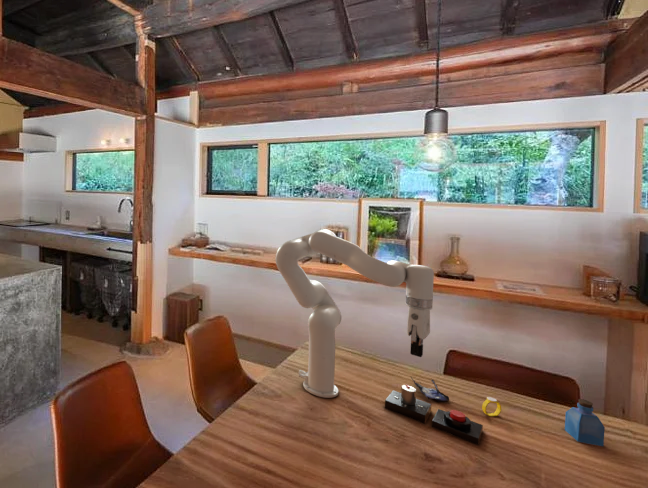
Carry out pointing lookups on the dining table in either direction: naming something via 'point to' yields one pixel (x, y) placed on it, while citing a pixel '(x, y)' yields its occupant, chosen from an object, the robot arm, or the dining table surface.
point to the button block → (458, 427)
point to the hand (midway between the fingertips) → (416, 355)
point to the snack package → (432, 392)
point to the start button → (457, 415)
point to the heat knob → (408, 395)
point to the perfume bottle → (584, 424)
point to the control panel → (408, 407)
